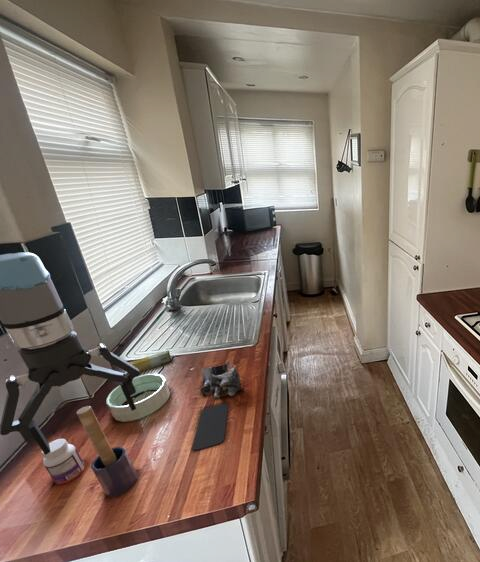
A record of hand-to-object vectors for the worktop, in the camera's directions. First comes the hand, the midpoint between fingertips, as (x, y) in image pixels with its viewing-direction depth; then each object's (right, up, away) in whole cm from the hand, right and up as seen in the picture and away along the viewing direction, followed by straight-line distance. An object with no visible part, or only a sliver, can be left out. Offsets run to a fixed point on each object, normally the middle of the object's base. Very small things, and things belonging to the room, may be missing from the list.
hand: (93, 426), depth 63 cm
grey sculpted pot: (+9, -5, +36) cm, 38 cm away
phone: (+13, -10, +22) cm, 27 cm away
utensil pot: (0, -17, +7) cm, 18 cm away
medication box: (-22, -1, +47) cm, 52 cm away
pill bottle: (-14, -16, +10) cm, 24 cm away
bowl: (-13, -8, +30) cm, 34 cm away
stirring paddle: (0, -16, +7) cm, 17 cm away
